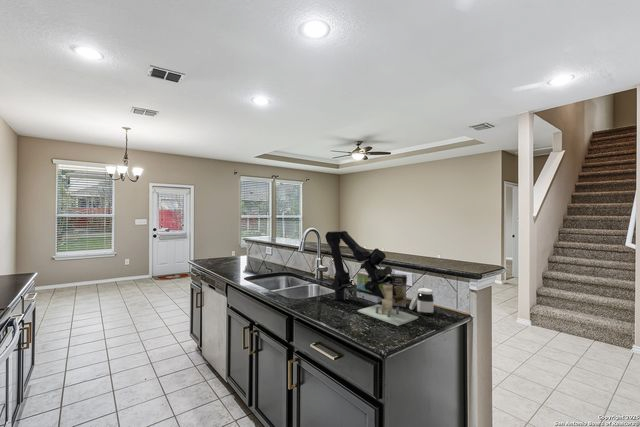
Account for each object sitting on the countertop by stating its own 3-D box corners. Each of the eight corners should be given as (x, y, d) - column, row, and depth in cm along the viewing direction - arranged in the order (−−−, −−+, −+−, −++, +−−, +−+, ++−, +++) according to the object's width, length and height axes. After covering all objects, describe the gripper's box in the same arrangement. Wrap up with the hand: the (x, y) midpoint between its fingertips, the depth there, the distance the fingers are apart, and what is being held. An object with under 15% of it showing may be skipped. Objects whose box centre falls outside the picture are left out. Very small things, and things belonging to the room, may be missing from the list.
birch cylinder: (380, 311, 151) (380, 283, 151) (389, 311, 153) (389, 283, 152) (384, 315, 147) (384, 286, 146) (394, 314, 148) (394, 285, 148)
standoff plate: (357, 311, 153) (357, 304, 153) (378, 305, 164) (378, 298, 164) (398, 325, 135) (398, 317, 135) (418, 318, 146) (418, 310, 146)
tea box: (355, 297, 179) (356, 272, 179) (366, 294, 186) (366, 270, 186) (377, 303, 169) (377, 276, 169) (387, 300, 176) (388, 274, 176)
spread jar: (434, 316, 148) (435, 292, 148) (410, 314, 150) (410, 291, 150) (430, 309, 160) (431, 287, 160) (408, 307, 162) (408, 285, 162)
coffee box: (388, 305, 165) (389, 275, 165) (388, 302, 171) (389, 273, 171) (406, 307, 163) (406, 276, 163) (405, 303, 169) (406, 274, 169)
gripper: (369, 263, 146) (387, 290, 138) (393, 259, 158) (411, 285, 150) (356, 276, 152) (373, 304, 144) (380, 272, 164) (397, 297, 156)
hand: (389, 297), depth 148 cm, fingers open, 9 cm apart
